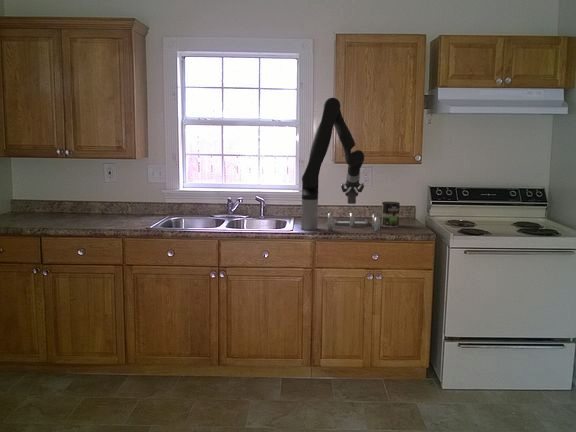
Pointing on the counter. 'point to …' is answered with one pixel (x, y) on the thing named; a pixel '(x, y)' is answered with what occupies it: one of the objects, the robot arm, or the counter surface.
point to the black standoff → (351, 196)
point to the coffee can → (390, 214)
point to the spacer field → (352, 221)
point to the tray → (347, 222)
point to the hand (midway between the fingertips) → (351, 195)
